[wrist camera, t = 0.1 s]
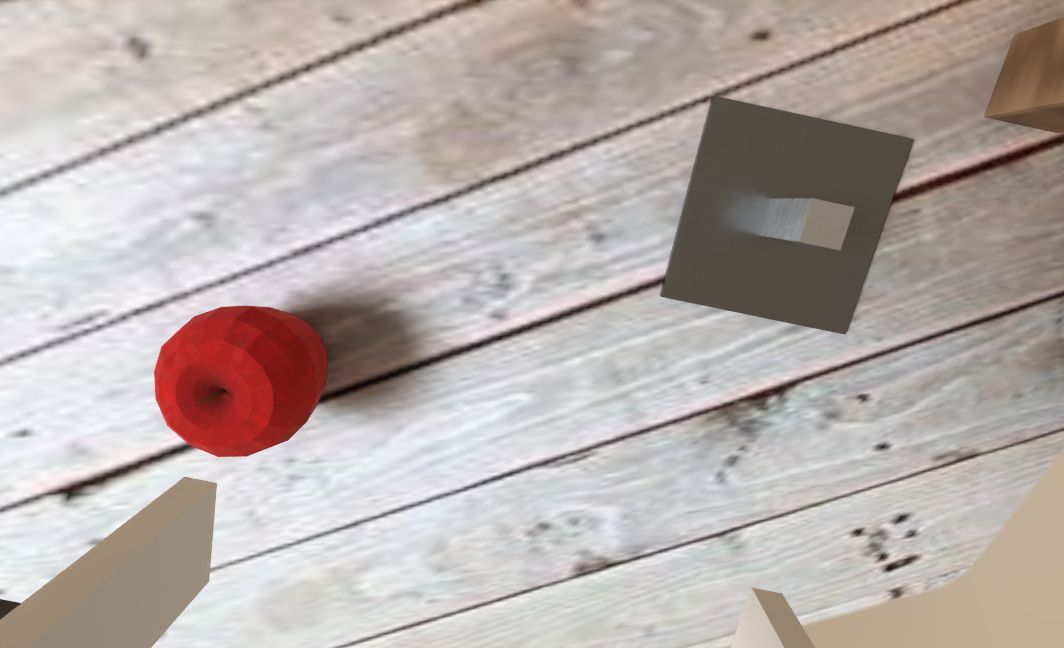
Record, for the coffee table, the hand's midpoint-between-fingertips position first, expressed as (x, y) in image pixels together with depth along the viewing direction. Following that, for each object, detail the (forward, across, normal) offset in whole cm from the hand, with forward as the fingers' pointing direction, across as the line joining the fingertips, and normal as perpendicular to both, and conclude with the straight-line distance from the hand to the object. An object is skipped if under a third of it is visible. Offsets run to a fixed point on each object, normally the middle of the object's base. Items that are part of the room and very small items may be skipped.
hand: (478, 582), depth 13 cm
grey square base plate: (+28, +17, +11) cm, 34 cm away
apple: (+28, -17, -6) cm, 33 cm away
